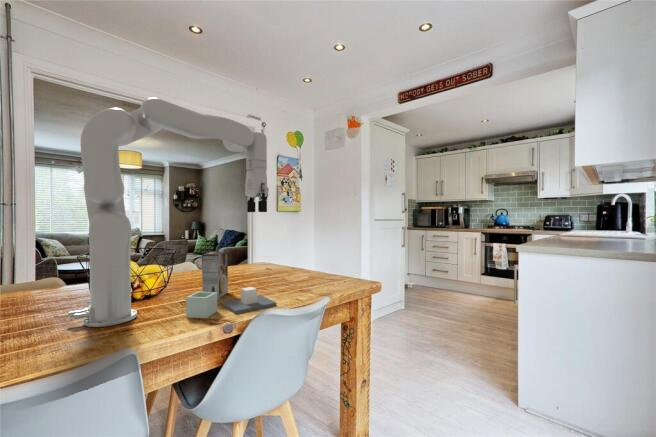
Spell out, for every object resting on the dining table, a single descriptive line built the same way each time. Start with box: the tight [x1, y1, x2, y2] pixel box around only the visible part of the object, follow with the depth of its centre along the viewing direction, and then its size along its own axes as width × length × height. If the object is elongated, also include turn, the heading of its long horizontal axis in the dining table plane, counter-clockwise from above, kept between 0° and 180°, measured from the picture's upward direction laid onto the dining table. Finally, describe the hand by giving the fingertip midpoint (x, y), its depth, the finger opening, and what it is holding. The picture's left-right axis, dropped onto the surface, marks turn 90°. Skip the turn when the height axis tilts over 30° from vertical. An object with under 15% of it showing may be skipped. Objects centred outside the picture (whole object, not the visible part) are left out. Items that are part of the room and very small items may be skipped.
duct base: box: [221, 286, 277, 315], centre depth 101 cm, size 14×12×6 cm
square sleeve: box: [185, 291, 218, 319], centre depth 92 cm, size 6×6×6 cm
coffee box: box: [201, 250, 229, 300], centre depth 113 cm, size 9×6×16 cm
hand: (256, 212), depth 114 cm, fingers open, 9 cm apart
